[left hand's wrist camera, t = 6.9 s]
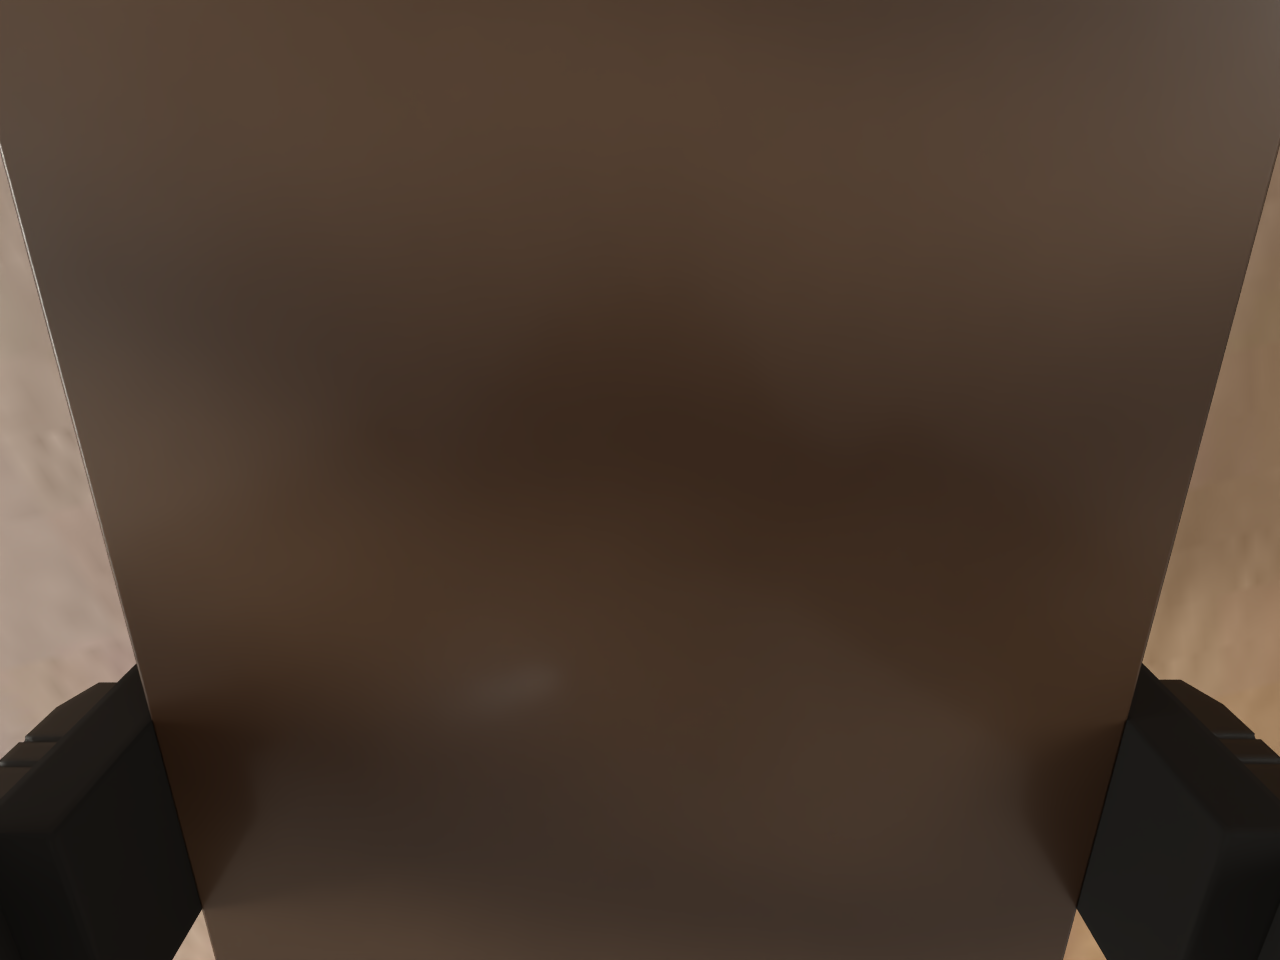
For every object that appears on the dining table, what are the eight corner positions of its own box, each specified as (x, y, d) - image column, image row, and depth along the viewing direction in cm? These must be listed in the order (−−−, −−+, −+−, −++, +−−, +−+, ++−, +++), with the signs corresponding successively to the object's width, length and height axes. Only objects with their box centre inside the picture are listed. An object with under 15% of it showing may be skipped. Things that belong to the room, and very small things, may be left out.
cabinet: (320, -317, 13) (-433, -1458, 4) (957, -315, 13) (1712, -1460, 4) (426, 634, 19) (237, 1049, 10) (852, 634, 19) (1041, 1048, 10)
